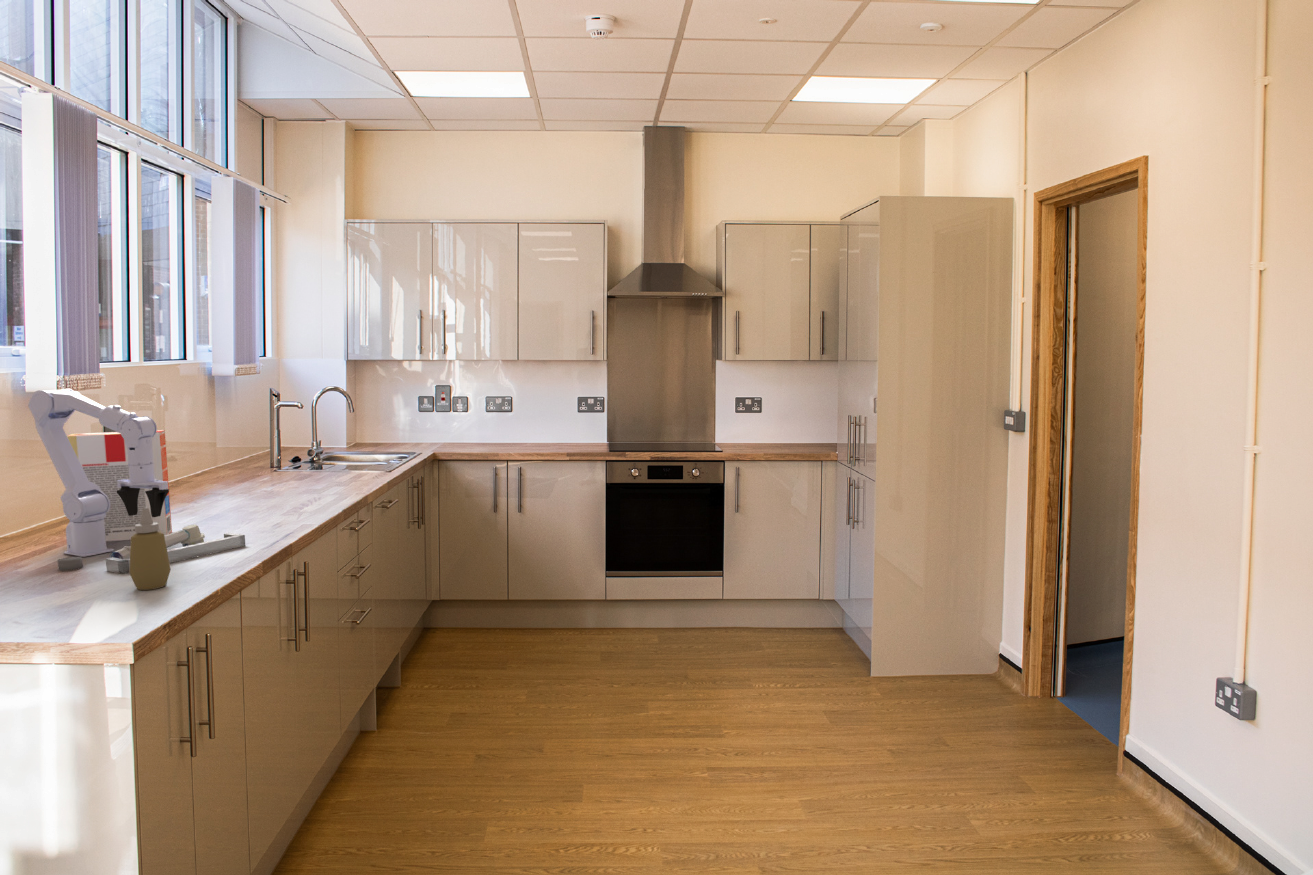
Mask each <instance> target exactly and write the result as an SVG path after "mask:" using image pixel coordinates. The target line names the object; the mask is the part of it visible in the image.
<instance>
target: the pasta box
mask: <svg viewBox="0 0 1313 875" xmlns="http://www.w3.org/2000/svg"><path fill="white" fill-rule="evenodd" d="M165 431H166V430H165V429H160V430H159V429H158V430H157V431H156V434H155V435H154V436H153V437H152V444H153V460H154V475H155V480H160V481H168V482H169V472H168V460H167V458H168V457H167V444H166V442H167V441H166V432H165ZM67 437H68V439H69V442H70V444H71V446H72V448H73V450H74V452H75V454H76V456H77V458H78V460H79V462H80V464H81V466H82V468H83V470H84V472H85V474H86V476H87V478H88V480H89V481H90V482H92V483H94V484H96V485H98V486H99V487H100V489H101V490H102V492H103V493H104V494H106V495H107V496H108V498H109V500H110V509H109V511H108V512H107V513H106V517H104V523H105V536H106V542H116V541H129V540H130V541H131V537H132V536H133V535H134V534H137V533H136V532H135V525H136V524H140V520H141V514H142V508H149V511H150V514H151V509H150V503H149V499H148V497H147V495H146V493H145V491H148V490H152V489H147V488H140V491H139V495H138V512H137V515H133V516H129V515H128V512H127V510H126V507H125V505H124V502H123V501H122V499H121V497H120V496H119V495H118V494H117V490H121V488H117V480H123V479H129V467H128V453H127V447H126V445H125V440H124V438H123V437H122V435H121V433H119V432H116V431H111V432H110V431H109V432H88V433H87V432H84V433H83V432H82V433H71V434H69V435H67ZM168 489H169V490H170V486H169V483H168ZM171 513H172V512H171V501H170V491H169V492H168V494H167V496H166V498H165V500H164V503H163V506H162V510H161V515H160V516H158V517H152V515H151V517H152V520H153V522H156V523H158V524H159V530H158V531H159V532H162V533H163V534H164V535H167V534H171V533H173V528H172V515H171Z"/></svg>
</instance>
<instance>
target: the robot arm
mask: <svg viewBox="0 0 1313 875" xmlns="http://www.w3.org/2000/svg"><path fill="white" fill-rule="evenodd" d="M27 406H28V408H29V410H30V413H31V415H32V416H33V419H34V424H35V429H36V431H37V433H38V435H39V436H38V437H40V440H41V441H42V444H43V445H44V448H45V450H46V451H47V454H48V456H49V458H50V460H51V462H52V464H53V466H54V468H55V470H56V472H57V474H58V476H59V478H60V480H61V483H62V484H63V486H64V488H65V490H64V491H63V493H62V495H60V500H61V503H62V510H63V511H62V512H63V513H64V516H65V517H66V518H67V519H68V520H69V522H68V523H67V525H66V528H65V536H66V537H65V538H66V549H67V550H66V551H63V554H65V555H71V556H74V557H82V558H83V557H84V558H86V557H90V556H95V555H100V554H104V553H109V552H110V553H112V552H115V549H114V548H111V547H110V548H109V547H107V541H106V536H105V523H104V517H106V513H107V512H108V511H109V509H110V500H109V498H108V496H107V495H106V494H104V493H103V492H102V490H101V489H100V487H99V486H98V485H96V484H94V483H92V482H90V481H89V480H88V478H87V476H86V474H85V472H84V470H83V468H82V466H81V464H80V462H79V460H78V458H77V456H76V454H75V452H74V450H73V448H72V446H71V444H70V442H69V439H68V437H67V436H68V435H67V433H66V431H65V429H64V425H65V423H68V420H69V419H70V418H71V417H72V415H73V414H74V413H75V412H76V411H77V412H79V413H82V414H85V415H87V416H90V417H92V418H95V419H97V420H98V422H99V424H100V425H101V426H103V427H105V428H107V429H109V430H112V431H113V432H119V433H121V435H122V437H123V438H124V440H125V445H126V447H127V453H128V467H129V479H123V480H117V488H121V490H117V494H118V495H119V496H120V497H121V499H122V501H123V502H124V505H125V507H126V510H127V512H128V515H129V516H133V515H137V512H138V495H139V491H140V488H147V489H152V490H148V491H145V493H146V495H147V497H148V499H149V503H150V509H151V515H152V517H158V516H160V515H161V510H162V506H163V503H164V500H165V498H166V496H167V494H168V492H169V493H170V488H169V489H168V484H169V480H168V481H160V480H155V475H154V460H153V444H152V437H153V436H154V435H155V434H156V431H157V429H158V428H157V424H156V421H154V419H153V418H152V417H150V416H148V415H146V416H145V415H143V416H140V417H139V416H138V415H137V413H136V412H129V411H126V410H124V409H122V406H121V405H119V404H114V405H108V406H104V405H102V404H100V403H98V402H96V401H94V400H92V399H90V398H88V397H86V396H84V395H82V394H81V392H79V391H77V390H73V389H72V388H63V389H47V390H43V389H39V390H35V391H34V392H33V393H32V394H31V396H30V399H29V400H28V403H27Z"/></svg>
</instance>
